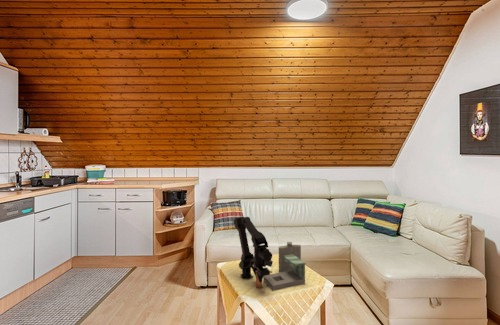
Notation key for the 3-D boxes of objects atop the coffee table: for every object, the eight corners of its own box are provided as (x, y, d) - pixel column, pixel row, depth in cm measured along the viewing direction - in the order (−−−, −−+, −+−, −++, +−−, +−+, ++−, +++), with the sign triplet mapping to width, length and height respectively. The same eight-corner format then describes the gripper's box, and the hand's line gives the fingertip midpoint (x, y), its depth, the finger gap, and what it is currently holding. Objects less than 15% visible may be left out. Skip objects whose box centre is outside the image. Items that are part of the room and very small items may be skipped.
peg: (254, 286, 173) (254, 270, 172) (260, 285, 174) (260, 269, 174) (257, 289, 169) (257, 273, 168) (263, 288, 170) (263, 272, 170)
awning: (283, 271, 186) (283, 255, 185) (292, 269, 189) (292, 254, 188) (295, 281, 172) (295, 264, 172) (305, 279, 175) (305, 262, 174)
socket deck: (263, 280, 180) (263, 275, 180) (293, 274, 188) (293, 269, 188) (273, 290, 167) (273, 285, 167) (304, 283, 176) (304, 279, 175)
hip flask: (279, 274, 189) (279, 244, 188) (277, 271, 193) (277, 242, 192) (301, 271, 193) (301, 242, 192) (298, 268, 197) (299, 240, 196)
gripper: (278, 259, 165) (278, 285, 166) (264, 248, 182) (264, 272, 183) (260, 262, 161) (260, 289, 162) (248, 251, 178) (248, 275, 179)
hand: (259, 280), depth 171 cm, fingers closed on peg, 4 cm apart
